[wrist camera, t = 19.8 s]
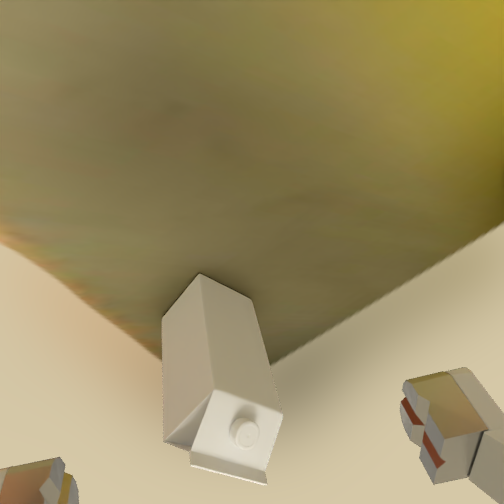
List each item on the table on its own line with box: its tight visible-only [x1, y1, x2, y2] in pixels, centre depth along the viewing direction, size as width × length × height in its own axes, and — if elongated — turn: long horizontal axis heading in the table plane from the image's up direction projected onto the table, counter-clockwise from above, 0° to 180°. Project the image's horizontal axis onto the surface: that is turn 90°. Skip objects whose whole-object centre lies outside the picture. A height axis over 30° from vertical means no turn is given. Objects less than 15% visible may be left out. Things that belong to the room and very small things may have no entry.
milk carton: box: [162, 274, 283, 486], centre depth 41 cm, size 7×7×19 cm
